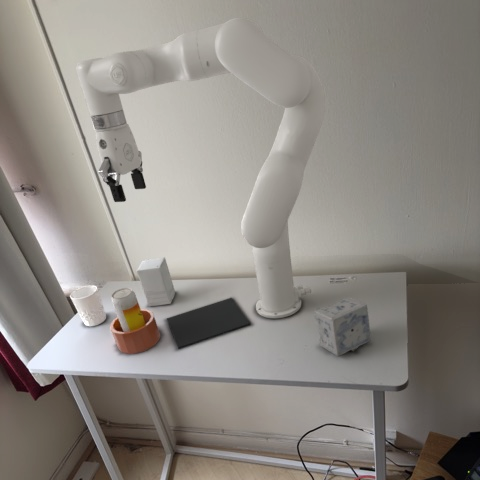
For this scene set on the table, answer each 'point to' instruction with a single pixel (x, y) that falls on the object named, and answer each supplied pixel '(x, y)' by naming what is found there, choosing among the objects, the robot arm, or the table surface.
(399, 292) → the table surface
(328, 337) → the incense holder
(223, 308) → the mat
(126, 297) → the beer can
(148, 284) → the white packaging box
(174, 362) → the table surface
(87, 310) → the white cup
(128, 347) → the pot
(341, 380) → the table surface
